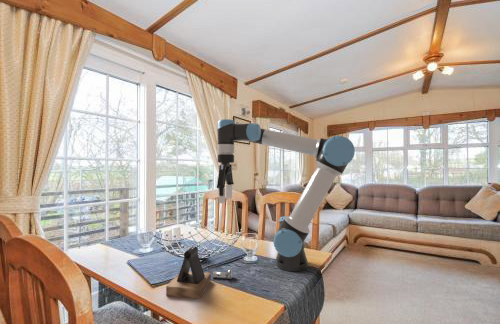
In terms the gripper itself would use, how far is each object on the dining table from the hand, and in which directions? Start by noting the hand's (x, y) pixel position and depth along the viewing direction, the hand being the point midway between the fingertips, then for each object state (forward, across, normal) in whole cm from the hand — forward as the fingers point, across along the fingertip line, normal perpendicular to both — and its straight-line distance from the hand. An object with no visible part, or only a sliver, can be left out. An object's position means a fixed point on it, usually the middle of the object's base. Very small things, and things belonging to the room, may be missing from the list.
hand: (225, 200), depth 114 cm
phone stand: (+28, +18, -9) cm, 35 cm away
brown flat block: (+32, +18, -10) cm, 38 cm away
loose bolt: (+32, +8, 0) cm, 33 cm away
